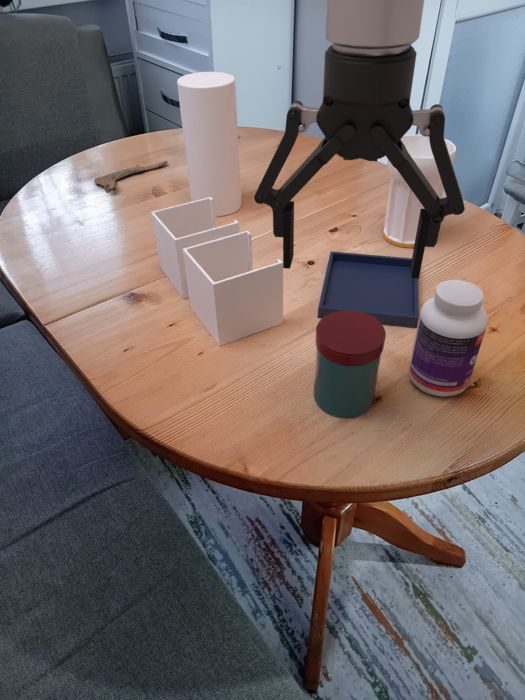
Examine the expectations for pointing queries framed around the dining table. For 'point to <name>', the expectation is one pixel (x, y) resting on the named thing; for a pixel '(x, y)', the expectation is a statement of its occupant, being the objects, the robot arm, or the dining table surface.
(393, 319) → the tray
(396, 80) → the robot arm
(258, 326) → the storage container
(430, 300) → the pill bottle
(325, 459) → the dining table surface
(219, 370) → the dining table surface
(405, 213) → the cup
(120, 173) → the tan bone
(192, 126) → the tall pillar cylinder
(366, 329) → the lid
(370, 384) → the jar
